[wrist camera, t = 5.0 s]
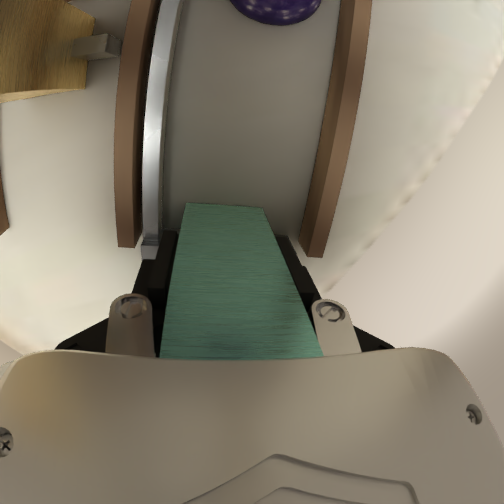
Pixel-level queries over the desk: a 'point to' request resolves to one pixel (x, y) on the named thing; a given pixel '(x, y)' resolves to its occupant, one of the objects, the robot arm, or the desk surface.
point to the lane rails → (331, 139)
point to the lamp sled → (216, 254)
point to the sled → (47, 48)
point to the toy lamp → (277, 10)
